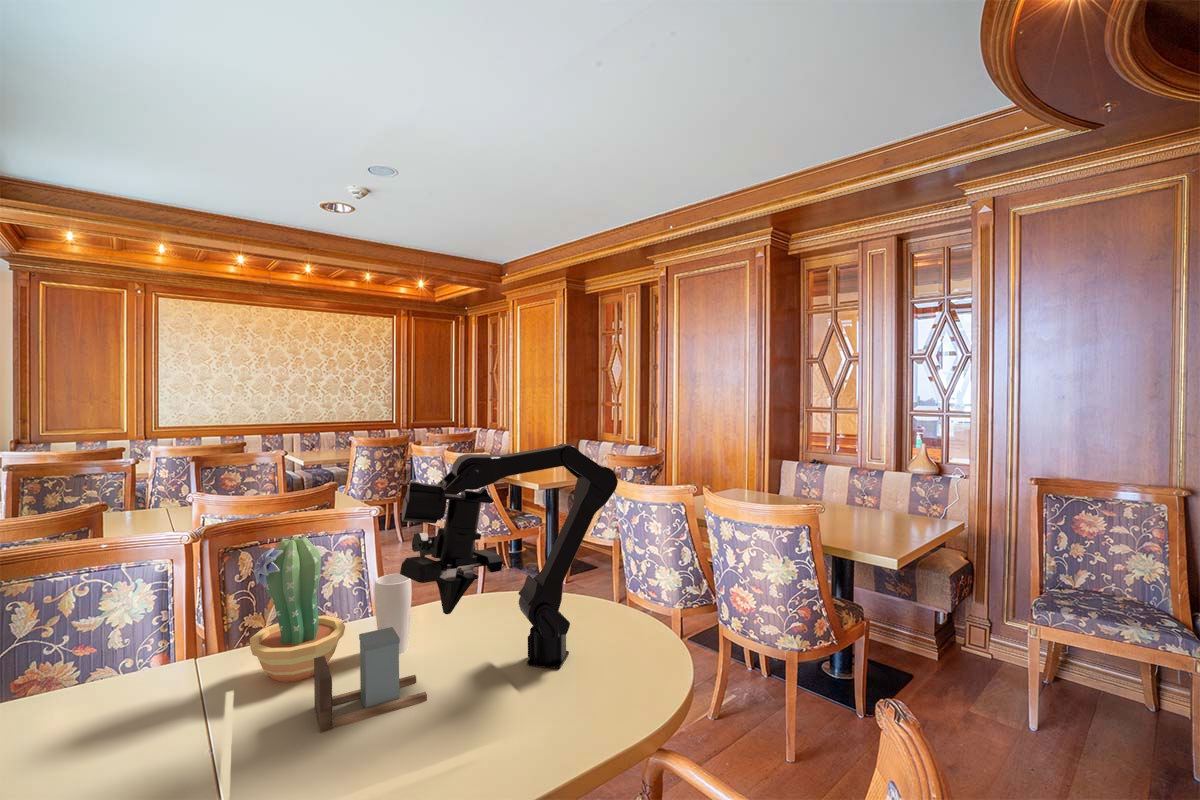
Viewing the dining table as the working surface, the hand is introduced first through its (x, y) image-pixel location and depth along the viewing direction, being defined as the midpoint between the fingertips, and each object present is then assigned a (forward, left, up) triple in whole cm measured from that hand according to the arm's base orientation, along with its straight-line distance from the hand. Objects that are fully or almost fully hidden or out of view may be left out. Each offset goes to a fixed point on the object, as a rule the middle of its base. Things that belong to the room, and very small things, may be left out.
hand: (446, 613), depth 99 cm
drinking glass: (+15, -7, -12) cm, 21 cm away
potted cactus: (+27, +4, -12) cm, 30 cm away
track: (+7, +11, -12) cm, 18 cm away
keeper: (+6, +10, -11) cm, 16 cm away
